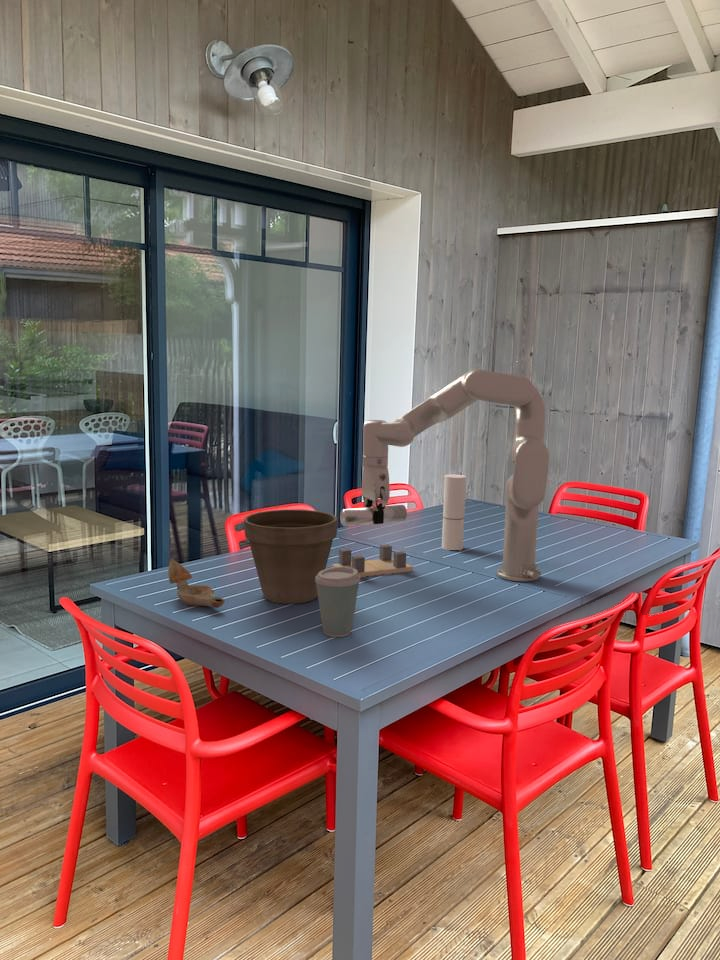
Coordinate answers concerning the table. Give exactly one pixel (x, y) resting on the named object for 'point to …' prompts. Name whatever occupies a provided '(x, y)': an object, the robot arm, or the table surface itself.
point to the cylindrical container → (453, 512)
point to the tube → (366, 515)
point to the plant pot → (290, 551)
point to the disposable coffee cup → (337, 599)
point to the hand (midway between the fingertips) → (373, 521)
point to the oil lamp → (191, 588)
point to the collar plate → (375, 562)
